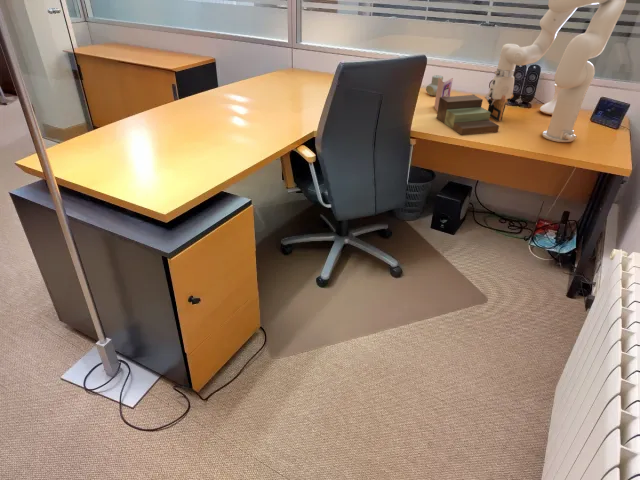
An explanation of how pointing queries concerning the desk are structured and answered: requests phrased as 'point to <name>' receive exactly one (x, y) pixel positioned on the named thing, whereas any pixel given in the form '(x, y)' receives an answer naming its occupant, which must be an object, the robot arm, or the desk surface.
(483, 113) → the step shelf
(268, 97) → the desk surface
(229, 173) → the desk surface
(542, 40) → the robot arm
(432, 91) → the grey pipe tee fitting
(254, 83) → the desk surface
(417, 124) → the desk surface
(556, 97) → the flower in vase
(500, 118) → the ammunition clip
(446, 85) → the greeting card
